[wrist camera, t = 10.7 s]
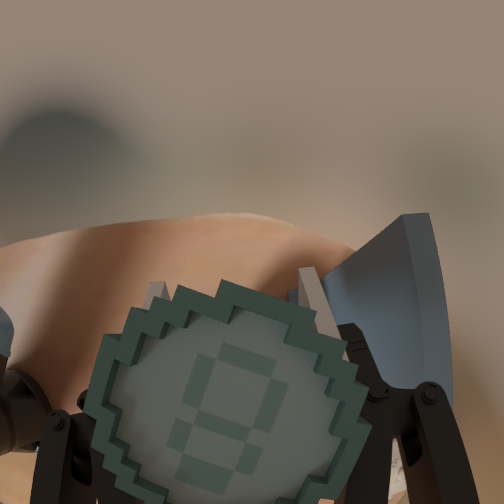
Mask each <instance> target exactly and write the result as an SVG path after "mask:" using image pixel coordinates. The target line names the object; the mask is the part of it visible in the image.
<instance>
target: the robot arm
mask: <svg viewBox="0 0 504 504" xmlns="http://www.w3.org/2000/svg"><path fill="white" fill-rule="evenodd" d="M154 296H156V297H159V298H162V299H165V300H169V301H171V300H170V297H169V293H168V290H167V287H166V283H165V281H163V282H151V283H150V285H149V288H148V291H147V294H146V298H145V301H144V304H143V307H142V309H146V310H149V308H150V306H151V303H152V300H153V297H154ZM298 305H300V306H303V307H306V308H309V309H312V310H315V311H317V313H316V317H315V320H314V323H313V326H312V329H311V331H314V332H318V333H321V334H324V335H327V336H331V337H334V338H337V339H341V340H344V341H347V345H346V348H345V352H344V355H343V358H342V359H343V360H346V361H348V362H351V363H354V364H357V365H359V367H358V370H357V373H356V376H355V379H354V380H355V381H357V382H359V383H361V384H363V385H365V386H367V387H369V391H368V394H367V396H366V399H365V402H364V404H363V407H362V409H361V412H360V414H359V415H360V416H361V417H362V418H363V419H365V420H366V421H367V422H368V423H370V424H371V425H372V428H371V431H370V433H369V435H368V438H367V440H366V442H365V444H364V447H363V449H362V451H361V453H360V455H359V458H358V460H357V462H356V464H355V466H354V468H353V470H352V472H351V474H350V476H349V478H348V480H347V482H346V484H345V486H344V488H343V489H342V491H341V493H340V495H339V497H338V499H337V500H334V504H388V497H389V488H390V477H391V465H392V448H393V436H396V439H397V443H398V448H399V452H400V457H401V461H402V466H403V471H404V476H405V481H406V486H407V491H408V497H409V503H410V504H480V503H479V499H478V494H477V490H476V486H475V482H474V479H473V475H472V471H471V467H470V464H469V460H468V457H467V454H466V451H465V447H464V444H463V441H462V438H461V435H460V432H459V429H458V426H457V423H456V420H455V417H454V414H453V412H452V409H451V406H450V404H449V401H448V398H447V396H446V393H445V391H444V389H443V388H442V387H441V386H440V385H439V384H437V383H435V382H432V381H427V382H423V383H421V384H419V385H418V386H417V387H416V388H415V389H400V388H395V387H392V386H390V385H389V384H388V383H386V382H385V381H384V380H383V379H382V377H381V376H380V373H379V371H378V368H377V366H376V363H375V361H374V358H373V356H372V354H371V351H370V349H369V346H368V344H367V342H366V339H365V337H364V335H363V332H362V330H361V329H360V328H359V327H358V326H356V325H355V324H354V323H348V324H342V325H336V323H335V320H334V317H333V315H332V312H331V309H330V307H329V304H328V301H327V299H326V296H325V293H324V291H323V288H322V286H321V283H320V280H319V278H318V275H317V273H316V270H315V268H314V267H305V268H298ZM13 336H14V327H13V323H12V321H11V319H10V317H9V316H8V315H7V313H6V312H5V311H4V310H3V309H2V308H1V307H0V456H1V455H4V454H6V453H9V452H22V453H35V452H38V453H37V459H36V464H35V470H34V476H33V482H32V489H31V497H30V504H96V499H97V500H98V504H144V503H145V501H143V500H141V499H139V498H137V497H135V496H132V495H130V494H128V493H126V492H124V491H122V490H120V489H118V488H116V487H114V485H115V481H116V477H117V475H116V474H114V473H112V472H110V471H108V470H107V469H105V468H103V467H102V466H103V462H104V457H105V455H104V454H102V453H101V452H99V451H97V450H95V449H94V448H92V447H91V442H92V438H93V434H94V430H95V425H96V421H97V420H96V419H94V418H92V417H91V416H89V415H87V414H86V413H84V412H83V413H78V414H73V415H69V414H68V413H67V412H66V411H65V410H61V409H58V410H54V411H51V408H50V405H49V402H48V400H47V398H46V396H45V394H44V393H43V391H42V389H41V388H40V387H39V385H38V384H37V383H36V382H35V381H34V380H33V379H32V378H31V377H30V376H29V375H28V374H26V373H24V372H22V371H20V370H15V369H14V370H5V369H6V365H7V361H8V357H10V355H11V351H10V349H11V344H12V340H13ZM87 392H88V389H86V390H85V391H83V392H82V393H81V394H80V396H79V398H78V400H77V406H78V407H79V408H80V409H81V410H82V411H83V408H84V404H85V400H86V396H87Z"/></svg>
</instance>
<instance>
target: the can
mask: <svg viewBox="0 0 504 504" xmlns="http://www.w3.org/2000/svg"><path fill="white" fill-rule="evenodd" d="M316 313H317V311H315V310H312V309H309V308H306V307H303V306H300V305H296V304H293V303H290V302H287V301H284V300H281V299H278V298H275V297H272V296H269V295H266V294H263V293H260V292H258V291H255V290H252V289H249V288H246V287H243V286H240V285H237V284H234V283H231V282H228V281H226V280H223V279H221V282H220V285H219V288H218V290H217V293H216V296H215V298H213V297H211V296H208V295H205V294H203V293H200V292H197V291H194V290H192V289H189V288H186V287H184V286H181V285H178V286H177V289H176V291H175V294H174V297H173V300H172V301H169V300H165V299H162V298H159V297H156V296H154V297H153V300H152V303H151V306H150V308H149V310H146V309H141V308H135V307H131V309H130V312H129V314H128V317H127V320H126V323H125V326H124V329H123V332H122V334H104V336H103V339H102V342H101V346H100V349H99V352H98V356H97V359H96V362H95V366H94V369H93V373H92V377H91V380H90V384H89V388H88V392H87V396H86V400H85V404H84V408H83V412H84V413H86V414H87V415H89V416H91V417H92V418H94V419H96V420H97V421H96V425H95V430H94V434H93V438H92V442H91V447H92V448H94V449H95V450H97V451H99V452H101V453H102V454H104V455H105V457H104V462H103V466H102V467H103V468H105V469H107V470H108V471H110V472H112V473H114V474H116V475H117V477H116V481H115V485H114V487H116V488H118V489H120V490H122V491H124V492H126V493H128V494H130V495H132V496H135V497H137V498H139V499H141V500H143V501H145V503H144V504H317V503H318V502H319V500H320V498H323V499H330V500H337V499H338V497H339V495H340V493H341V491H342V489H343V488H344V486H345V484H346V482H347V480H348V478H349V476H350V474H351V472H352V470H353V468H354V466H355V464H356V462H357V460H358V458H359V455H360V453H361V451H362V449H363V447H364V444H365V442H366V440H367V438H368V435H369V433H370V431H371V428H372V425H371V424H370V423H368V422H367V421H366V420H365V419H363V418H362V417H361V416H360V415H359V414H360V412H361V409H362V407H363V404H364V402H365V399H366V396H367V394H368V391H369V387H367V386H365V385H363V384H361V383H359V382H357V381H355V380H354V379H355V376H356V373H357V370H358V367H359V365H357V364H354V363H351V362H348V361H346V360H343V359H342V358H343V355H344V352H345V348H346V345H347V341H344V340H341V339H337V338H334V337H331V336H327V335H324V334H321V333H318V332H314V331H311V329H312V326H313V323H314V320H315V317H316Z"/></svg>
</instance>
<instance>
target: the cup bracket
mask: <svg viewBox="0 0 504 504" xmlns="http://www.w3.org/2000/svg"><path fill="white" fill-rule="evenodd" d="M320 283H321V286H322V288H323V291H324V293H325V296H326V299H327V301H328V304H329V307H330V309H331V312H332V315H333V317H334V320H335V323H336V325H342V324H348V323H354V324H355V325H356V326H358V327H359V328H360V329H361V330H362V332H363V335H364V337H365V339H366V342H367V344H368V346H369V349H370V351H371V354H372V356H373V358H374V361H375V363H376V366H377V368H378V371H379V373H380V376H381V377H382V379H383V380H384V381H385V382H386V383H388V384H389V385H390V386H392V387H395V388H400V389H415V388H416V387H417V386H418V385H419V384H421V383H423V382H427V381H432V382H435V383H437V384H439V385H440V386H441V387H442V388H443V389H444V391H445V393H446V396H447V398H448V401H449V404H450V406H451V409H452V411H453V385H452V384H453V383H452V357H451V344H450V343H451V342H450V330H449V321H448V313H447V304H446V297H445V290H444V283H443V277H442V272H441V266H440V261H439V256H438V251H437V246H436V241H435V237H434V233H433V228H432V224H431V220H430V216H429V213H416V214H403V215H401V216H400V217H398V218H397V219H396V220H395V221H394V222H392V223H391V224H390V225H389V226H387V227H386V228H385V229H384V230H383V231H381V232H380V233H379V234H378V235H376V236H375V237H374V238H373V239H371V240H370V241H369V242H368V243H367V244H365V245H364V246H363V247H361V248H360V249H359V250H358V251H356V252H355V253H354V254H353V255H351V256H350V257H349V258H347V259H346V260H345V261H344V262H342V263H341V264H340V265H338V266H337V267H336V268H335V269H333V270H332V271H331V272H329V273H328V274H327V275H325V276H324V277H323V278H321V279H320ZM287 293H288V302H290V303H293V304H296V305H298V290H289V291H287Z"/></svg>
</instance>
